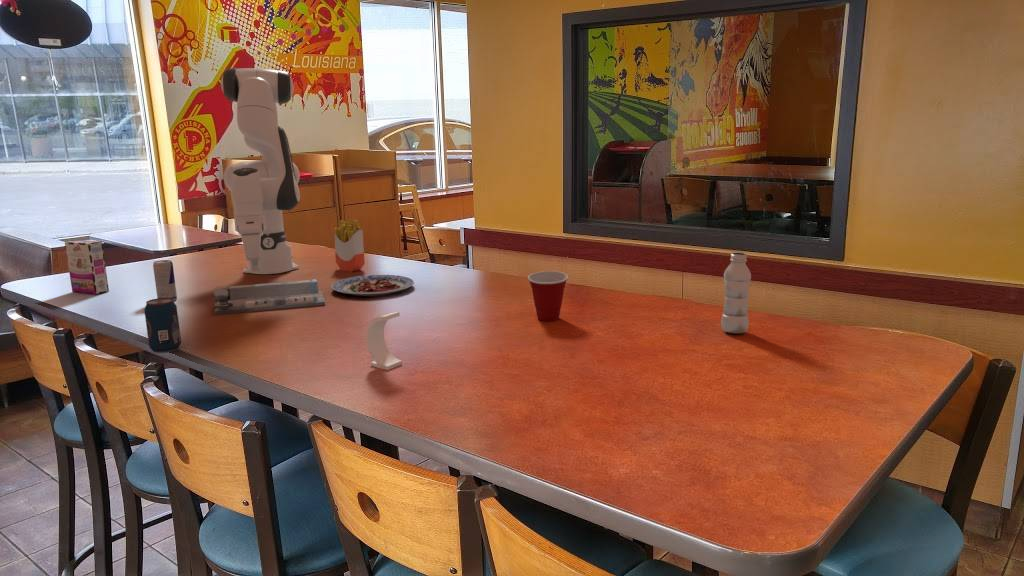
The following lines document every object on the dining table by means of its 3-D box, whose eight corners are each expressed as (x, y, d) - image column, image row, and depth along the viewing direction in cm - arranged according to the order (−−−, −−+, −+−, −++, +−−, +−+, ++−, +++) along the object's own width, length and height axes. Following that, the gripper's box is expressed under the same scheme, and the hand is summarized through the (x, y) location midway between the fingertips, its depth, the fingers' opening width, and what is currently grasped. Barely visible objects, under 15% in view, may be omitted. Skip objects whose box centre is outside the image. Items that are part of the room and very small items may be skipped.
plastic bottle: (734, 338, 175) (739, 257, 171) (714, 331, 181) (719, 252, 177) (753, 334, 178) (759, 254, 174) (733, 327, 184) (738, 250, 180)
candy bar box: (110, 291, 231) (103, 241, 227) (96, 295, 226) (88, 243, 222) (85, 288, 235) (77, 239, 231) (71, 292, 230) (63, 241, 227)
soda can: (150, 347, 174) (144, 299, 171) (182, 343, 177) (176, 295, 174) (149, 355, 168) (142, 305, 165) (181, 351, 170) (175, 302, 168)
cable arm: (215, 298, 210) (214, 286, 209) (317, 290, 218) (316, 279, 217) (214, 302, 206) (213, 290, 205) (318, 293, 214) (317, 282, 213)
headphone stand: (387, 370, 156) (384, 317, 153) (367, 365, 160) (364, 312, 157) (402, 364, 160) (399, 312, 157) (382, 359, 163) (379, 308, 160)
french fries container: (355, 272, 254) (351, 222, 249) (335, 269, 260) (332, 219, 256) (365, 270, 257) (362, 220, 253) (345, 267, 264) (342, 218, 260)
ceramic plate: (406, 278, 245) (406, 269, 245) (421, 295, 221) (421, 286, 221) (328, 284, 237) (328, 276, 237) (335, 303, 214) (335, 293, 213)
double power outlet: (216, 303, 215) (215, 295, 214) (322, 294, 224) (321, 287, 223) (213, 315, 202) (212, 307, 201) (325, 305, 211) (324, 297, 210)
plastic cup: (522, 322, 191) (521, 278, 188) (535, 311, 201) (534, 269, 198) (561, 325, 187) (561, 280, 185) (572, 315, 197) (573, 272, 194)
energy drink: (180, 298, 221) (175, 259, 218) (170, 302, 216) (166, 263, 213) (164, 298, 221) (159, 259, 219) (154, 302, 216) (148, 263, 213)
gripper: (240, 221, 221) (245, 265, 224) (238, 229, 202) (243, 277, 205) (262, 219, 223) (266, 263, 226) (261, 227, 204) (266, 275, 207)
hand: (255, 270), depth 215 cm, fingers closed
